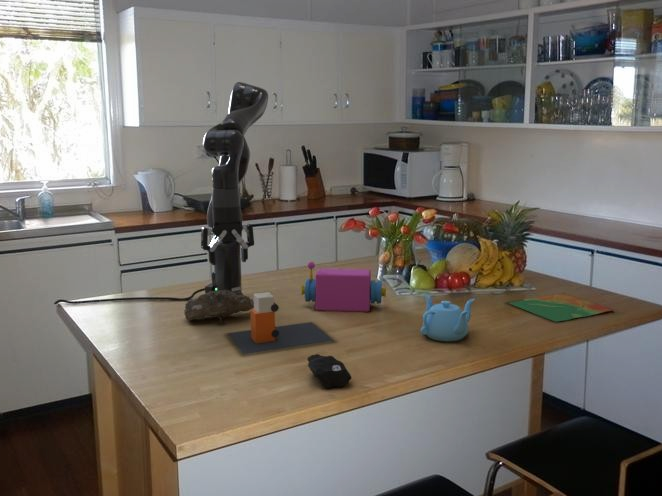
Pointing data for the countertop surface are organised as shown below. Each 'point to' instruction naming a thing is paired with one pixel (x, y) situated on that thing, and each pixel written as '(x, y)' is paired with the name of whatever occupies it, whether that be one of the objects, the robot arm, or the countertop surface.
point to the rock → (328, 370)
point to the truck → (263, 318)
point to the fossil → (217, 304)
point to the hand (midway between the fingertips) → (228, 263)
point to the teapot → (445, 320)
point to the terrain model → (560, 307)
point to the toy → (342, 289)
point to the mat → (281, 338)
